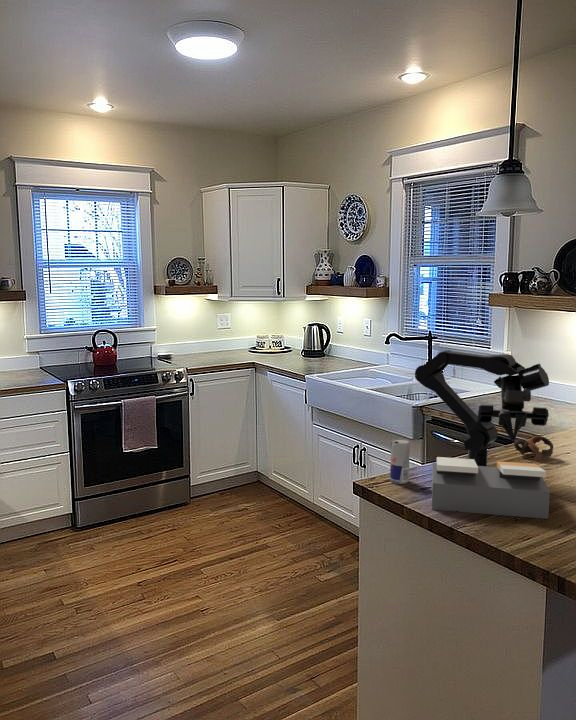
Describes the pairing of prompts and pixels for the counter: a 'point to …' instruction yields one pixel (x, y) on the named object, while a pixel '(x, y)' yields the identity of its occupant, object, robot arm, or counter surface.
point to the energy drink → (399, 461)
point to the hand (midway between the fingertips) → (513, 440)
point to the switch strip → (490, 493)
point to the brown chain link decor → (534, 447)
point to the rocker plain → (456, 465)
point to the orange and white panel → (521, 469)
